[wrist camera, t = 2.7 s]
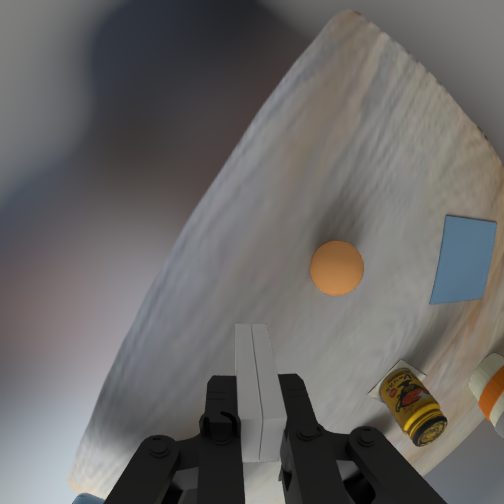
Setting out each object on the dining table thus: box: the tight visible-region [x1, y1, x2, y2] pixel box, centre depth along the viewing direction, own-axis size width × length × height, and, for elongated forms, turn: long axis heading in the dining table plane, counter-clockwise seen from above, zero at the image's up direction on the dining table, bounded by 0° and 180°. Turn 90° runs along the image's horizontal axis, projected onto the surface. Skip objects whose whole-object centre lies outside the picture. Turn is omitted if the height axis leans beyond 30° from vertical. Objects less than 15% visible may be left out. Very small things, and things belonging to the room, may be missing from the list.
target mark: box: [430, 216, 497, 304], centre depth 33 cm, size 12×12×1 cm
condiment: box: [368, 360, 447, 447], centre depth 32 cm, size 7×8×12 cm
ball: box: [310, 241, 364, 296], centre depth 28 cm, size 6×6×6 cm
